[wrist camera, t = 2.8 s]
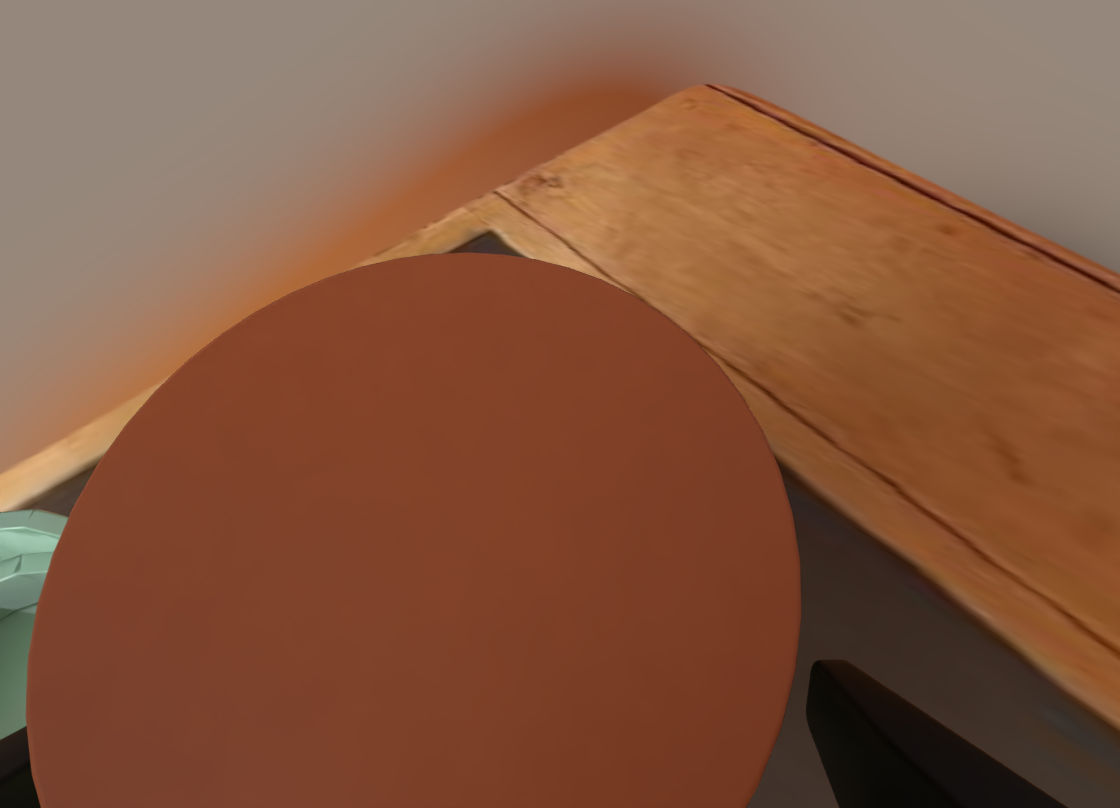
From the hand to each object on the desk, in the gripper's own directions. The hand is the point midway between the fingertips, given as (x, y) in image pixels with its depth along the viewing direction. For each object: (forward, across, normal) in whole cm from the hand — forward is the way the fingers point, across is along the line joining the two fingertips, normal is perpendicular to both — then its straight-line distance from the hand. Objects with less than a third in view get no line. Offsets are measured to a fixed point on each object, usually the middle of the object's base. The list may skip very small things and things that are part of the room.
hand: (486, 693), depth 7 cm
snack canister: (+7, 0, +5) cm, 9 cm away
